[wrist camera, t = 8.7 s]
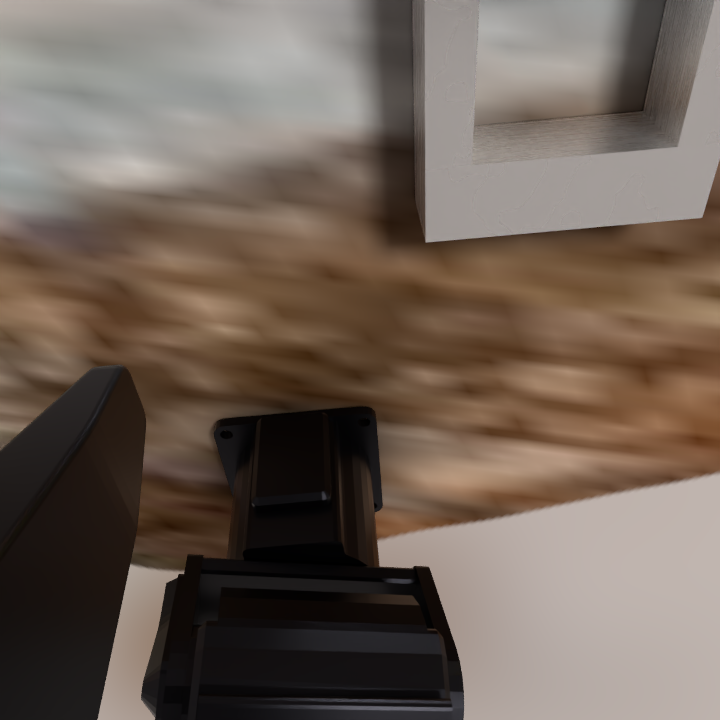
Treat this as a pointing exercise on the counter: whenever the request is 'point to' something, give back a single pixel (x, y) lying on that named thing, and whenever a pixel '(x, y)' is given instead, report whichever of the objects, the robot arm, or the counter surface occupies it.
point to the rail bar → (563, 137)
